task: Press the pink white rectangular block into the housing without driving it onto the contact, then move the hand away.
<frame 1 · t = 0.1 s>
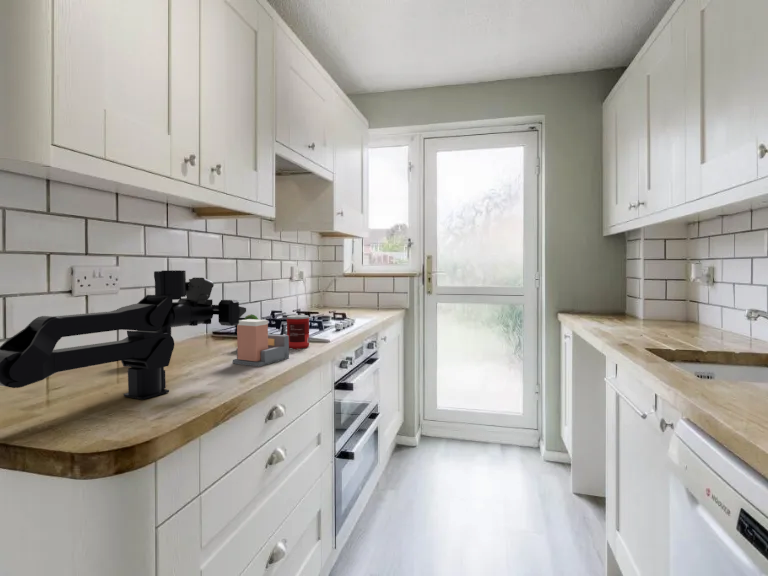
hand: (232, 309, 116), 17 cm above the countertop, tool horizontal, fingers open, 9 cm apart
housing: (253, 362, 126), on the countertop
lighter: (146, 365, 124), on the countertop
avocado: (251, 349, 149), on the countertop
pink white rectangular block: (252, 339, 126), point 7 cm above the countertop, slide at 0.0 cm
canned food: (298, 347, 152), on the countertop
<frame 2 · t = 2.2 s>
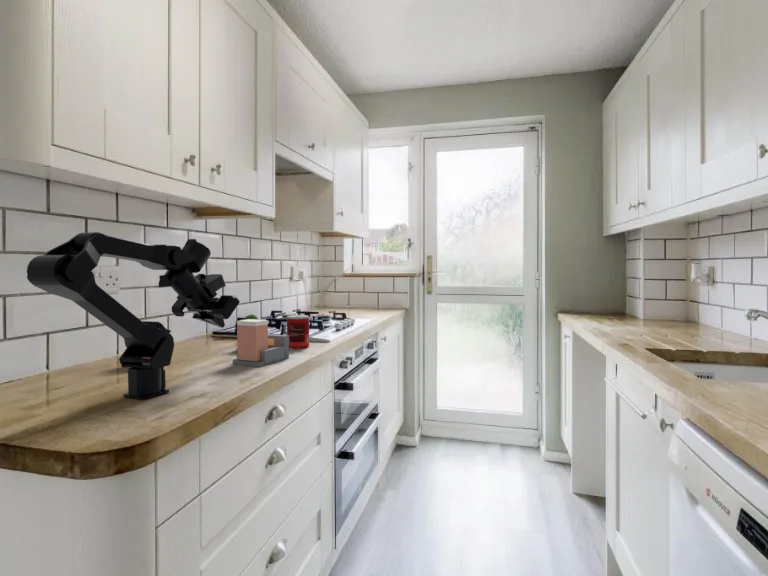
hand: (223, 326, 116), 12 cm above the countertop, tool tilted 45°, fingers closed
nothing on the countertop moved.
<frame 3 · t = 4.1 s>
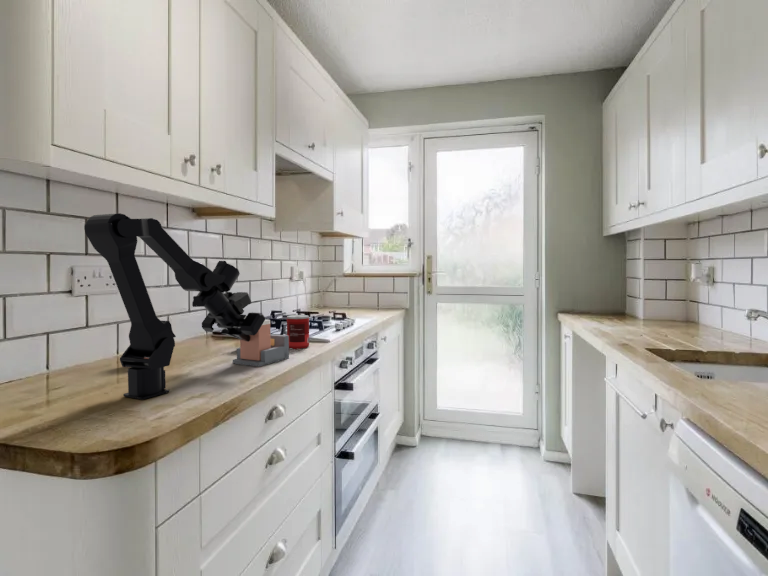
hand: (248, 340, 125), 7 cm above the countertop, tool tilted 45°, fingers closed, pressing on pink white rectangular block
pink white rectangular block: (255, 339, 127), point 7 cm above the countertop, slide at 1.1 cm, touching gripper
everything else where it was.
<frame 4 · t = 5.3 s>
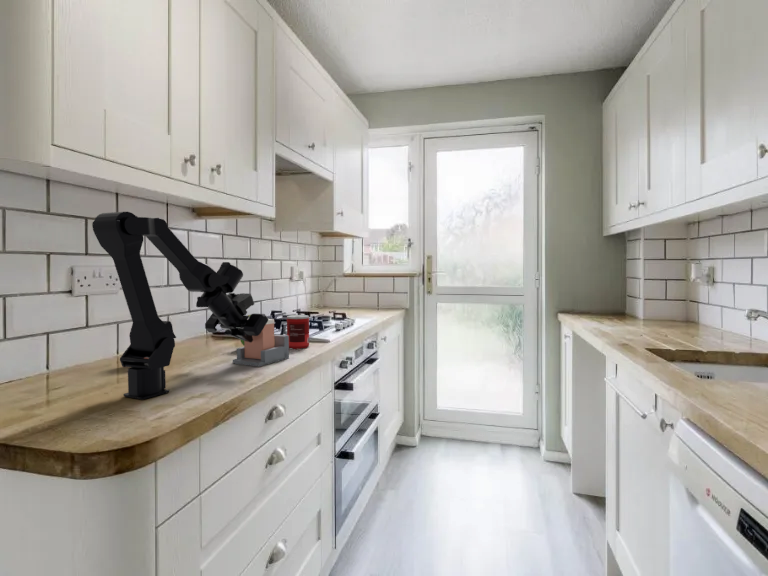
hand: (251, 341, 126), 6 cm above the countertop, tool tilted 45°, fingers closed
pink white rectangular block: (259, 338, 129), point 7 cm above the countertop, slide at 2.8 cm
everything else where it was.
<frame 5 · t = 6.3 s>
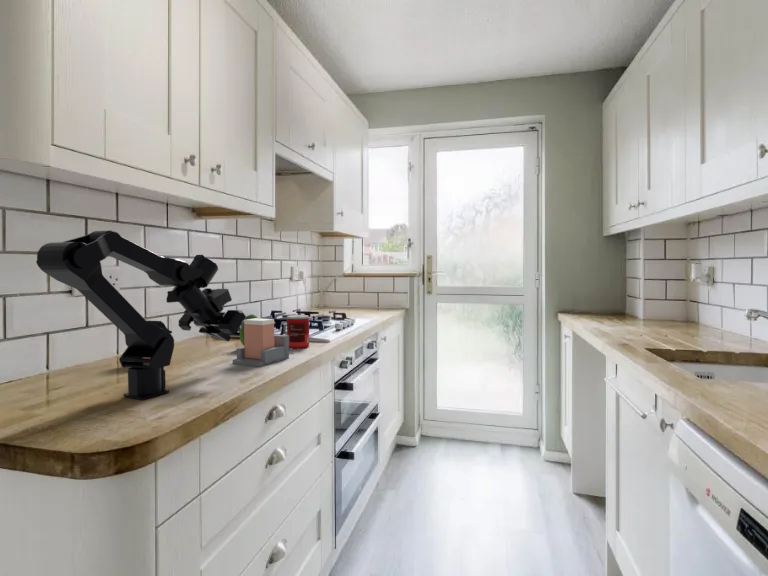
hand: (228, 339, 118), 8 cm above the countertop, tool tilted 45°, fingers closed
nothing on the countertop moved.
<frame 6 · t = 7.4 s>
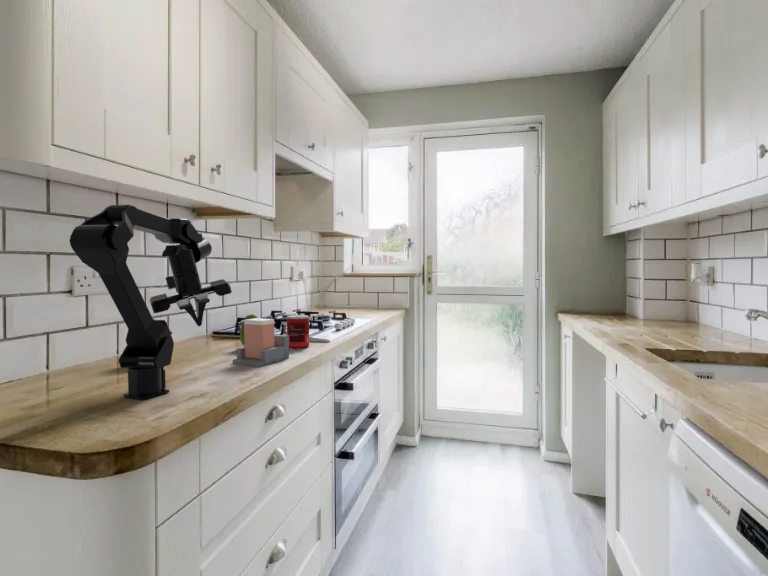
hand: (199, 325, 113), 13 cm above the countertop, tool tilted 20°, fingers closed
nothing on the countertop moved.
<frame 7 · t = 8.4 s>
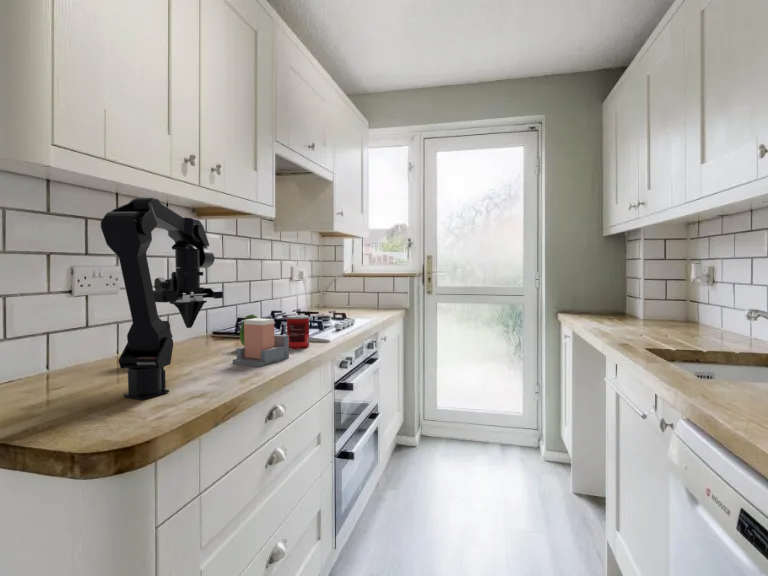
hand: (189, 327, 113), 12 cm above the countertop, tool pointing down, fingers closed
nothing on the countertop moved.
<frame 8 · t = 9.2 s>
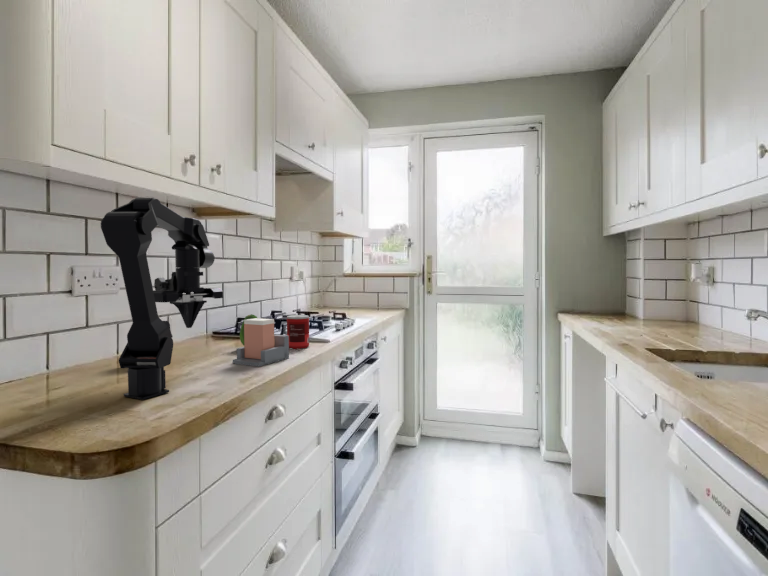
hand: (189, 327, 113), 12 cm above the countertop, tool pointing down, fingers closed
nothing on the countertop moved.
at the end: pink white rectangular block slide at 2.8 cm; the gripper is holding nothing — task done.
